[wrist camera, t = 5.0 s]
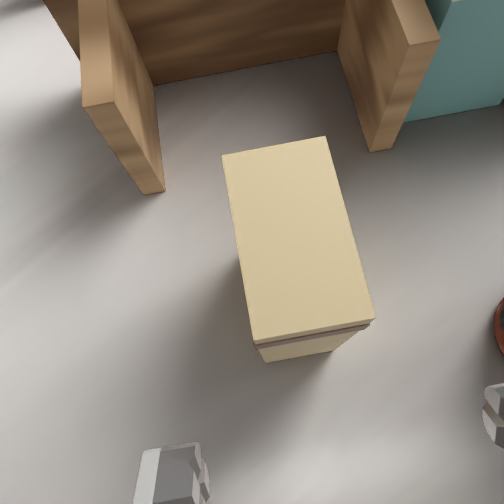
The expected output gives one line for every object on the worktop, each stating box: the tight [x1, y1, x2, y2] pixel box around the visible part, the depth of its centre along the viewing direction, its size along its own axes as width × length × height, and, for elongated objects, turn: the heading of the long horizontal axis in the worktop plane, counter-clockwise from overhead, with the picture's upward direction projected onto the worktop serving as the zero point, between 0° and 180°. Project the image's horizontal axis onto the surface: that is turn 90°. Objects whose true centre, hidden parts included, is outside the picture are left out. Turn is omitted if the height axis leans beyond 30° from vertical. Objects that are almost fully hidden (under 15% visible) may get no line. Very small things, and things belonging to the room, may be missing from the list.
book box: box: [221, 136, 376, 363], centre depth 19 cm, size 7×4×11 cm, turn 10°
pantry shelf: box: [43, 0, 441, 195], centre depth 23 cm, size 10×30×14 cm, turn 100°
